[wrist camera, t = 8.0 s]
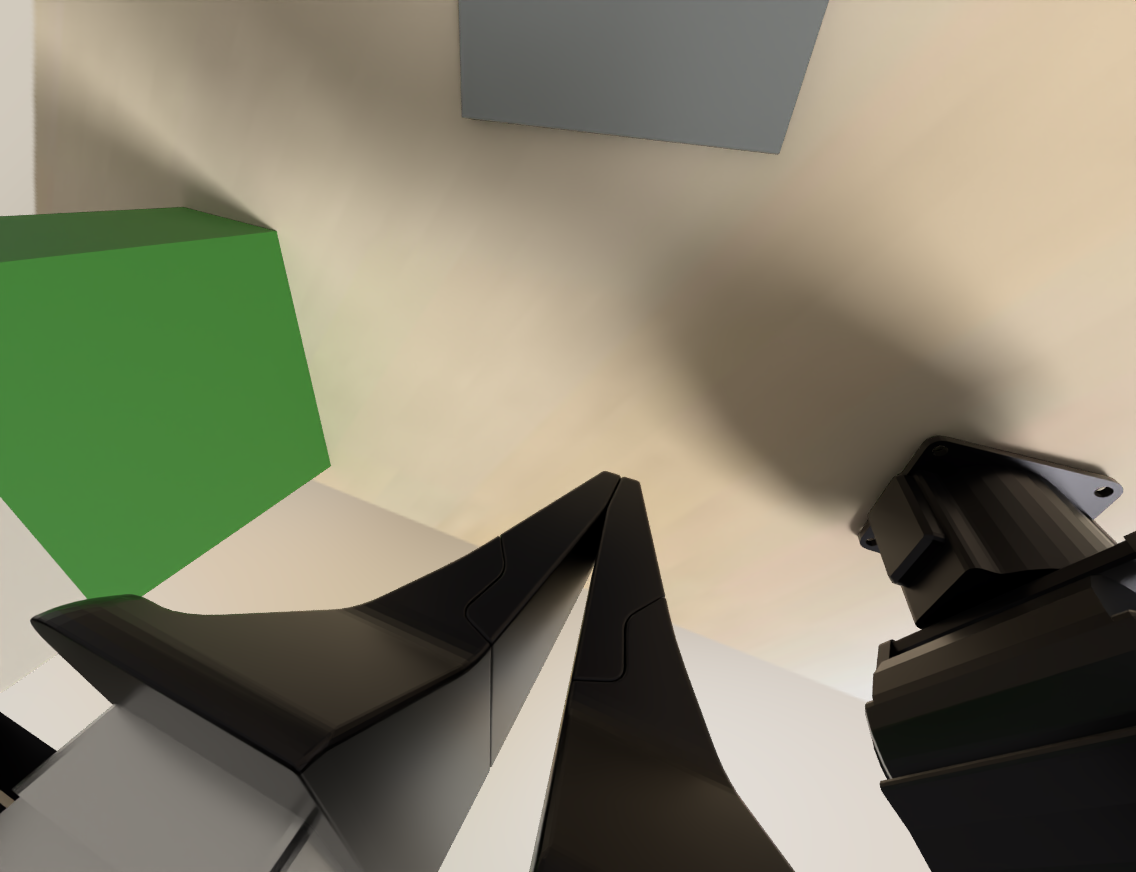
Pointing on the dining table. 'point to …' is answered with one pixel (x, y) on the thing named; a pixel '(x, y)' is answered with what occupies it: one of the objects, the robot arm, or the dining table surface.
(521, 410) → the dining table surface
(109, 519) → the hardback book
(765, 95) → the mat
